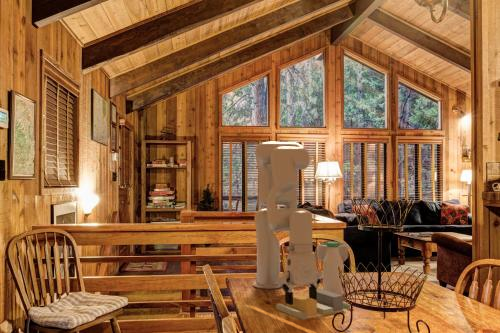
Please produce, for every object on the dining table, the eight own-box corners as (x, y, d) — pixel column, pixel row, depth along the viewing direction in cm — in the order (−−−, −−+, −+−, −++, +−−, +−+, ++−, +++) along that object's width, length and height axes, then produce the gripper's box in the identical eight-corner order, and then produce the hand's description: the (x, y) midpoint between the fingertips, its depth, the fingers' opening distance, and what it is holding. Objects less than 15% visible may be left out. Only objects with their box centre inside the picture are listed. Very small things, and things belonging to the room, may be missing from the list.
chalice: (352, 276, 211) (352, 243, 211) (342, 282, 199) (342, 247, 199) (323, 273, 218) (323, 241, 218) (311, 279, 206) (311, 244, 206)
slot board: (276, 311, 155) (276, 303, 155) (324, 302, 166) (324, 295, 166) (302, 322, 143) (302, 314, 143) (353, 312, 154) (352, 304, 154)
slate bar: (311, 303, 161) (311, 290, 161) (320, 302, 163) (320, 289, 163) (333, 311, 152) (333, 297, 152) (343, 309, 154) (342, 295, 154)
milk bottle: (343, 298, 172) (343, 243, 172) (322, 297, 173) (322, 243, 174) (343, 293, 179) (343, 241, 180) (323, 292, 181) (323, 240, 181)
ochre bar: (285, 308, 156) (285, 294, 156) (295, 306, 158) (295, 293, 158) (306, 316, 146) (306, 301, 146) (316, 314, 148) (316, 300, 148)
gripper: (286, 252, 145) (286, 308, 144) (328, 247, 154) (329, 300, 153) (272, 249, 151) (272, 303, 150) (314, 245, 160) (314, 295, 160)
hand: (301, 301), depth 152 cm, fingers open, 9 cm apart
